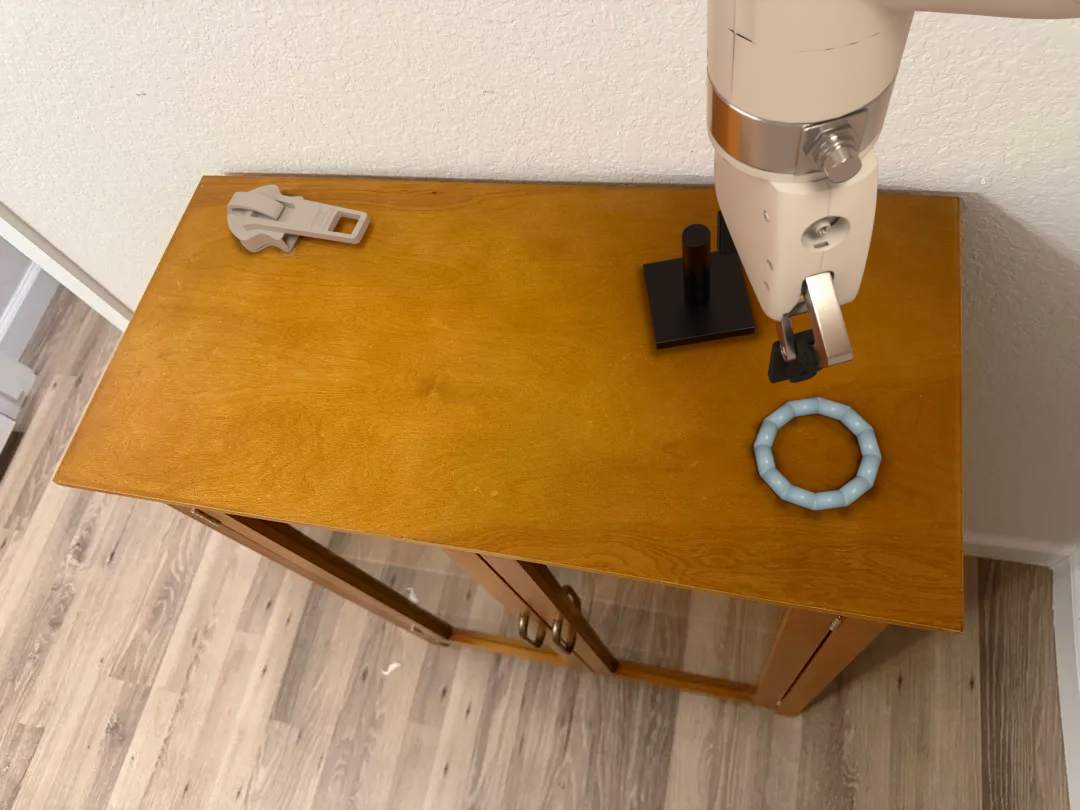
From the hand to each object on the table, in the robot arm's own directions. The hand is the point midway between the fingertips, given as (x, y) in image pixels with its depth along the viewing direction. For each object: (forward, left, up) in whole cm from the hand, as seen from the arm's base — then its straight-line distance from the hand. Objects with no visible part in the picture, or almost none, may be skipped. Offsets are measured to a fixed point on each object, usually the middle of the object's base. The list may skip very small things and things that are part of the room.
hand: (766, 307), depth 48 cm
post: (+2, -15, -21) cm, 26 cm away
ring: (-5, +2, -20) cm, 21 cm away
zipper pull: (+43, -33, -21) cm, 58 cm away
